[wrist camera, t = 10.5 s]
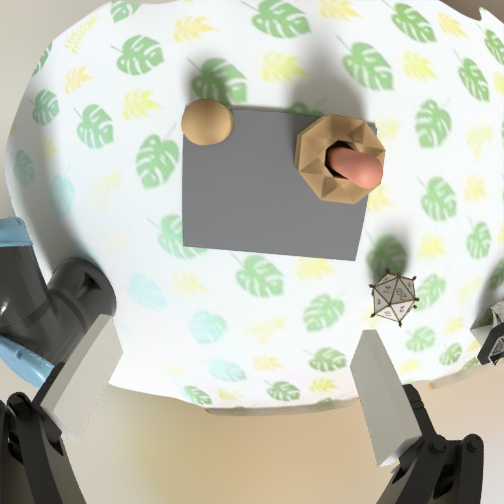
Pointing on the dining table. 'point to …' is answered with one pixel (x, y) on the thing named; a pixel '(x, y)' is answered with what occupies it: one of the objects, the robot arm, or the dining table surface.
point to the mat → (263, 194)
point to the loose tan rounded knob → (207, 122)
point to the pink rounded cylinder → (354, 165)
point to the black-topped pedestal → (491, 337)
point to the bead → (314, 148)
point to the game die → (394, 297)
